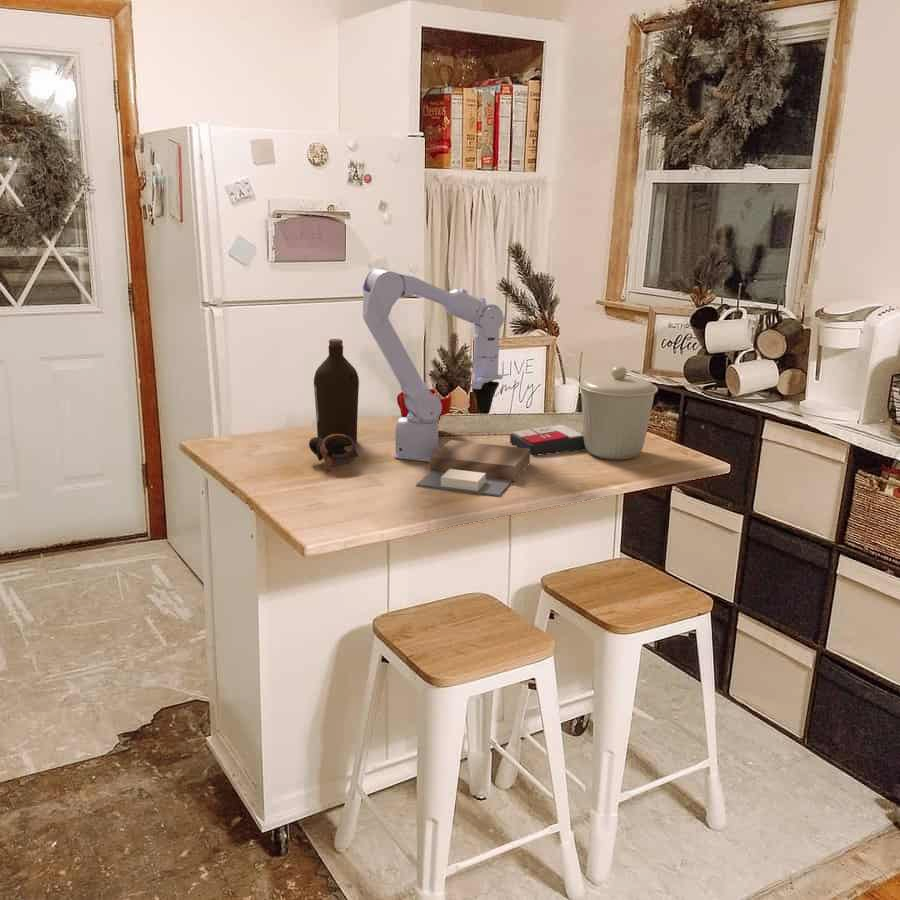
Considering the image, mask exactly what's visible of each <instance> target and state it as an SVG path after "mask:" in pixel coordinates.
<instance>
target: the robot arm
mask: <svg viewBox="0 0 900 900" xmlns="http://www.w3.org/2000/svg"><path fill="white" fill-rule="evenodd" d="M362 293H363V296H362V300H363V301H362V302H363V303H362V318H363V322H365V324H366V327H367V328H368V331H369V332H370V333H371V335H372V337H373V339H374V341H375V342H376V344H377V347H378V348H379V349H380V351H381V353H382V355H383V357H384V358H385V360H386V362H387V363H388V366H389V367H390V369H391V371H392V372H393V374H394V376H395V377H396V379H397V381H398V384H399V385H400V389H401V391H402V392H403V394H404V398H405V405H406V407H407V409H408V410H409V413H408V415H407V417H402V416H401V417H399V418H398V421H397V422H396V426H395V455H394V458H395V459H401V460H409V461H411V460H412V461H419V462H427V463H428V462H429V463H430V456H432V455H433V454H434V453H435V452H437V451H438V450H439V432H438V419H439V415H440V414H441V411H442V404H441V401H440V400H439V398H438V397H436V396H435V395H433V394H432V393H431V392H430V390H429V389H430V388H429V387H428V386H427V384H426V382H424V380H423V379H422V377H421V376H420V373H419V372H418V370H417V367H415V365H414V362H413V361H412V359H411V357H410V356H409V354H408V352H407V350H406V348H405V346H404V344H403V343H402V341H401V339H400V337H399V336H398V334H397V332H396V330H395V328H394V327H393V324H392V323H391V321H390V319H389V316H390V313H391V311H392V308H393V306H394V305H395V304H396V302H397V301H398V300H399V298H400V297H401V296H403V297H408V296H411V295H417V296H419V297H421V298H424V299H426V300H430V301H431V302H435V303H437V304H440V305H442V306H443V308H444V310H445V312H446V314H448V315H451V316H453V317H455V318H458V319H460V320H463V321H466V322H467V323H470V324H474V338H473V367H472V368H473V369H472V373H471V374H472V376H471V377H472V381H471V384H470V387H471V389H472V391H473V394H474V396H475V399H476V404H477V408H478V413H479V414H483V415H489V414H490V412H491V409H492V408H491V407H492V405H493V404H492V403H493V400H494V396H495V394H496V392H497V389H498V387H499V384H500V383H499V382H498V381H496V380H503V378H504V375H503V374H499V360H500V359H499V354H500V352H499V351H500V328H502V326H503V324H504V321H505V316H504V314H503V311H502V309H501V308H500V307H499V306H498V305H497V304H493V303H490V302H488V301H487V300H486V298H484V297H481V296H480V297H479V298H478V297H477V296H474V295H471V294H469V293H468V290H467V289H464V288H460V289H459V288H455V289H453V290H450V291H446V290H444V289H442V288H440V287H437V286H436V285H433V284H431V283H429V282H427V281H425V280H422V279H420V278H418V277H415V276H413V275H410V274H406V273H402V272H399V271H394V270H388V269H386V268H384V267H375V268H373V269H371V270H369V272H368V273H367V275H366V277H365V279H364V282H363V284H362Z"/></svg>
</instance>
